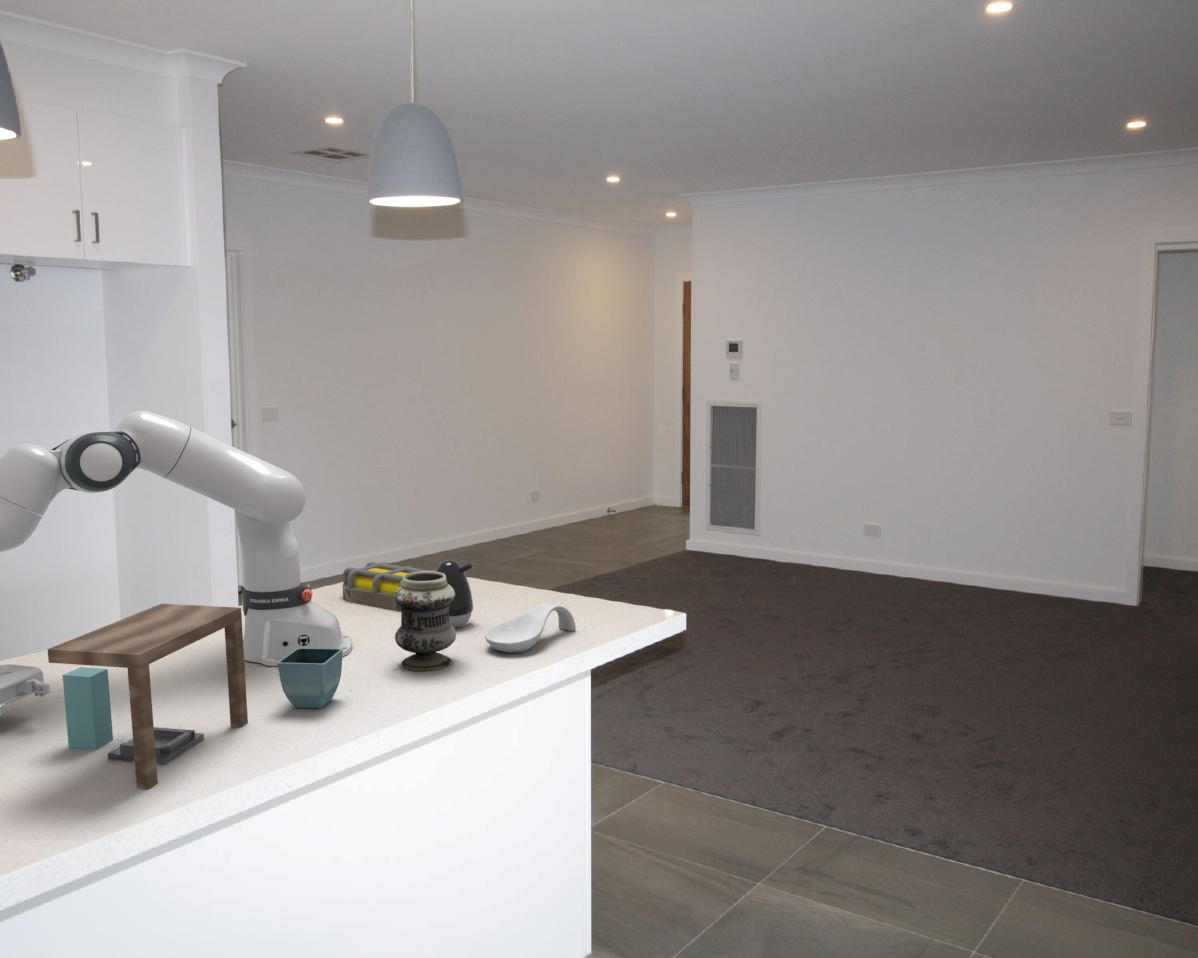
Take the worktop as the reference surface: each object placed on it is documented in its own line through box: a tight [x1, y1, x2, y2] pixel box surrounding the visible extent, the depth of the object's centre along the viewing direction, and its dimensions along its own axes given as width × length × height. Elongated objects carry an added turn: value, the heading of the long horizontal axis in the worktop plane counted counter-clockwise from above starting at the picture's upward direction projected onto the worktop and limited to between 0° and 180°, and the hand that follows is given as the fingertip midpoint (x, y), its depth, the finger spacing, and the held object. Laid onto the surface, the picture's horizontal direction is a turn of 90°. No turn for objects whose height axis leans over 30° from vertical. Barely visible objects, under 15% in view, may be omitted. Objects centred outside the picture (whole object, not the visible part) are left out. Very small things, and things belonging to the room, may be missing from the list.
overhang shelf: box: [47, 603, 249, 790], centre depth 157 cm, size 15×26×20 cm, turn 168°
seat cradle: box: [107, 726, 205, 766], centre depth 159 cm, size 10×10×2 cm
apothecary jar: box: [394, 570, 457, 672], centre depth 199 cm, size 12×12×18 cm
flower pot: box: [276, 648, 343, 709], centre depth 178 cm, size 9×9×9 cm
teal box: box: [62, 666, 114, 751], centre depth 160 cm, size 5×4×12 cm
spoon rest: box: [484, 603, 577, 654], centre depth 214 cm, size 24×12×7 cm, turn 142°
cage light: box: [342, 561, 436, 612], centre depth 250 cm, size 15×8×30 cm
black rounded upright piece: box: [435, 559, 474, 629], centre depth 226 cm, size 10×10×15 cm
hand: (25, 699), depth 163 cm, fingers open, 8 cm apart
